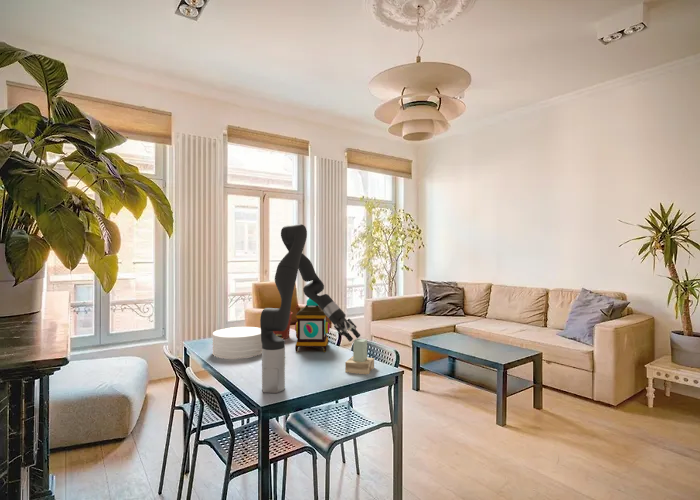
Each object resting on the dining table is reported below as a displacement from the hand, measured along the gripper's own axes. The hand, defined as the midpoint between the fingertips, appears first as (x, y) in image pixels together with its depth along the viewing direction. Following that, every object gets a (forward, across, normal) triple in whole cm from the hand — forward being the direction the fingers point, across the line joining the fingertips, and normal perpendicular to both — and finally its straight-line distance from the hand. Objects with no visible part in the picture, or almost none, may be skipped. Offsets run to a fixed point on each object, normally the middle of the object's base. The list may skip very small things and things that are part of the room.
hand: (355, 338), depth 190 cm
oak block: (+12, 0, +9) cm, 15 cm away
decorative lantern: (-17, +26, +38) cm, 49 cm away
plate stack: (-40, +1, +61) cm, 73 cm away
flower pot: (-40, +40, +61) cm, 83 cm away
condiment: (-22, 0, +44) cm, 49 cm away
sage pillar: (+9, 0, +5) cm, 10 cm away
